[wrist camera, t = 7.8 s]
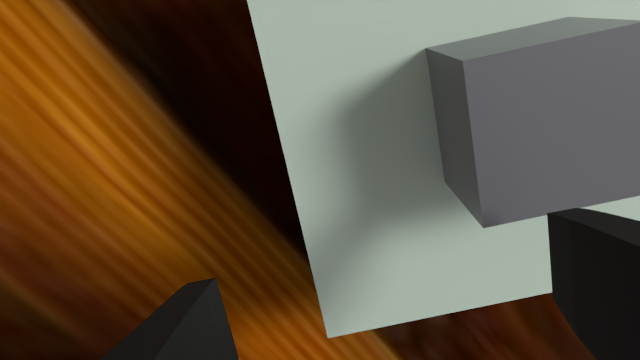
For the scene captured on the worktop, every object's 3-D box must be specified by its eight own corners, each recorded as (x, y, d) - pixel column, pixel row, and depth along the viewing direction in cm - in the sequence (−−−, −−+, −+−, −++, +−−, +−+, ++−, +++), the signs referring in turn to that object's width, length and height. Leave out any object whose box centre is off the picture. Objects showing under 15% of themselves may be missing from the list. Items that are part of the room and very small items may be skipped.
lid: (705, 246, 18) (824, 316, 14) (326, 324, 18) (335, 415, 14) (714, -198, 14) (884, -280, 10) (228, -88, 14) (201, -124, 10)
